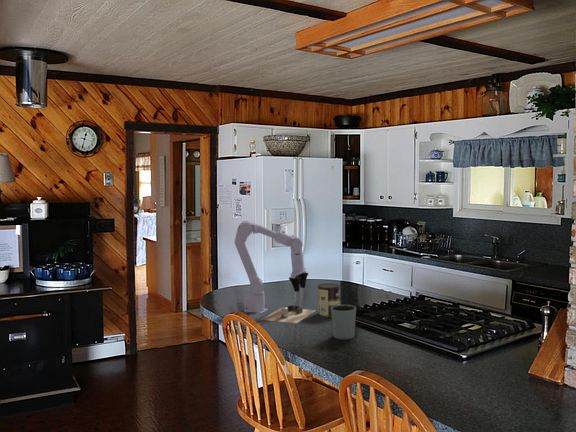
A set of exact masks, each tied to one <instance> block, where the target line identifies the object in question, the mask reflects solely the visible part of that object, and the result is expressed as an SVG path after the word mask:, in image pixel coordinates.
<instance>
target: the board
mask: <svg viewBox="0 0 576 432" xmlns="http://www.w3.org/2000/svg"><path fill="white" fill-rule="evenodd" d="M281 308H282V307H280V308H278V309H276V310H275V311H273V312H272V313H270V314H268V315H266V316H264V317H262V318H261V319H260V320H261V321H271V322H280V323H289V324H290V323H292V324H298V323H300V322H301V321H302V320H303V321H304V319H306V318H308V317H309V316H310V315H311V314H313V313H314V312H316V311H317V310H316V309H306V308H304V309H303V312H302V313H301V314H297V311H288V318H281Z"/></svg>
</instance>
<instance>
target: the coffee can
mask: <svg viewBox="0 0 576 432" xmlns="http://www.w3.org/2000/svg"><path fill="white" fill-rule="evenodd" d="M340 294H341V293H340V284H338V283H332V282H331V283H330V282H329V283H321V284H317V300H318V301H317V302H318V303H317V304H318V308H317V309H318V315H319V316H322V317H328V318H329V317H330V318H331V319H332V313H331V307H333V306H336V305H341V301H340V300H341V297H340Z"/></svg>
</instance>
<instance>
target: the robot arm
mask: <svg viewBox="0 0 576 432" xmlns="http://www.w3.org/2000/svg"><path fill="white" fill-rule="evenodd" d="M252 233H253V235H255V234H262V235H264V236H267V237H270V238H273V239H274V241H275V242H276V243H277V244H279V245H283V246H286V247H290V260H291V270H292V271H291V273H290V277H288V279H289V281H290V283H291V285H292V288H293V290H294V292H296V293H297V292H300V288H301V289H305V288H306V283H307V277H308V275H309V272H307V267H304V266H305V265H304V254H303V242H302V240H301V239H300V238H299V237H298V236H295V235H293V234H292V235H291V234H289V233H286V231H284V230H282V231H281V230H280V231H277V232H276V231H275V230H272V229H270V228H268V227H265V226H262V225H261V224H258V223H254V222H249V221H248V220H244V221H242V222H241V223H239V226H238V227H237V230H236V234H235V238H234V245H235V248H236V251H237V253H238V255H239V258H240V260H241V263H242V265H243V268H244V270H245V272H246V275H247V278H248V281H249V285H250V291H249V292H247V293H245V295H244V297H243V298H244V299H243V300H244V310H243V312H244V313H248V312H249V313H257V314H262V313H264V312H266V311H268V310H269V309H268V308H266V305H265V303H266V302H265V299H266V298H265V291H264V289H265V286H264V282H263V280H262V279H261V278H260V277H259V275H258V273H257V271H256V268H255V265H254V263H253V261H252V258H251V255H250V253H249V250H248V247H247V246H246V241H247V239H248V237H249V236H250V235H252Z"/></svg>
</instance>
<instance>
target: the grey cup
mask: <svg viewBox="0 0 576 432" xmlns="http://www.w3.org/2000/svg"><path fill="white" fill-rule="evenodd" d="M331 313H332V318H331V320H332V330H333V332H332V333H333V337H334V339H337V340H350V339H351V340H352V339H354V338H355V335H356V331H355V329H356V314H357V307H356V306H354V305H351V304H340V305H336V306H333V307H331Z"/></svg>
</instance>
